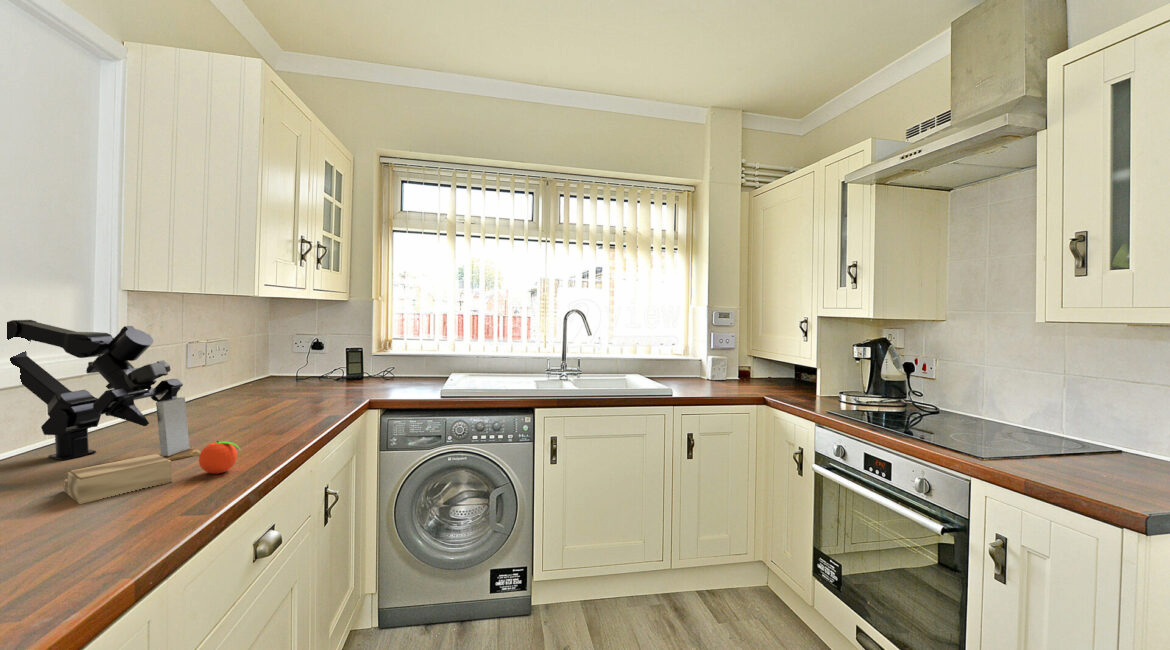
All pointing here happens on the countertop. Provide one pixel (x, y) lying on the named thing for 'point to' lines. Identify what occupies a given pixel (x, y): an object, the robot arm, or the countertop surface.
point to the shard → (183, 454)
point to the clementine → (218, 457)
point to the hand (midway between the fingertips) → (164, 420)
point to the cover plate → (172, 426)
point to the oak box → (117, 478)
